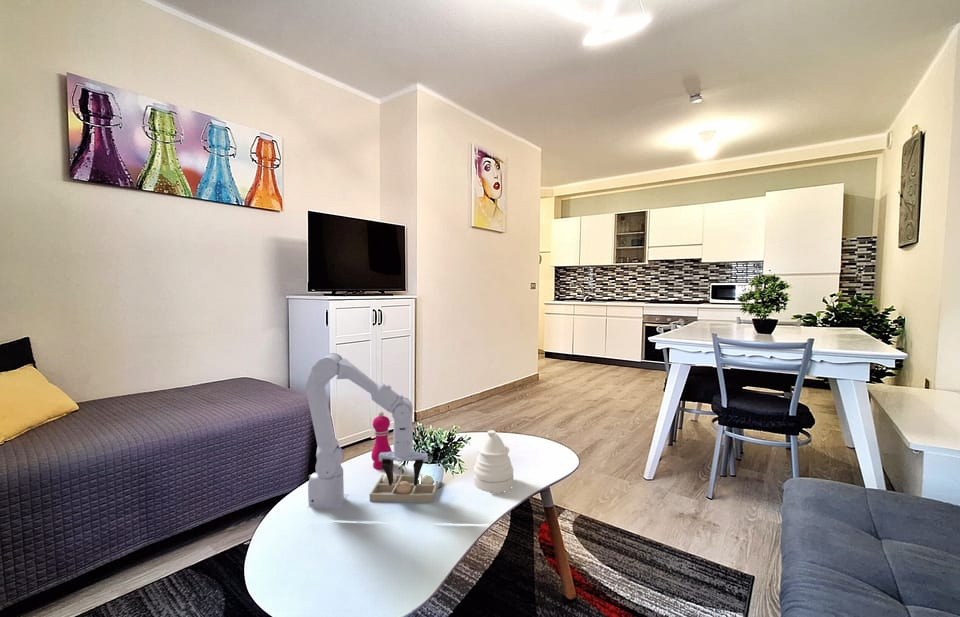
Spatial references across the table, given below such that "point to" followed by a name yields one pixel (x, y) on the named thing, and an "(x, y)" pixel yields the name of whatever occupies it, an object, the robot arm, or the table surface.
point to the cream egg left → (385, 479)
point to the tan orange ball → (403, 487)
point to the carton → (390, 494)
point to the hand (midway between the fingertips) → (403, 483)
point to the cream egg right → (427, 480)
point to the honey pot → (493, 466)
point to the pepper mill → (380, 439)
